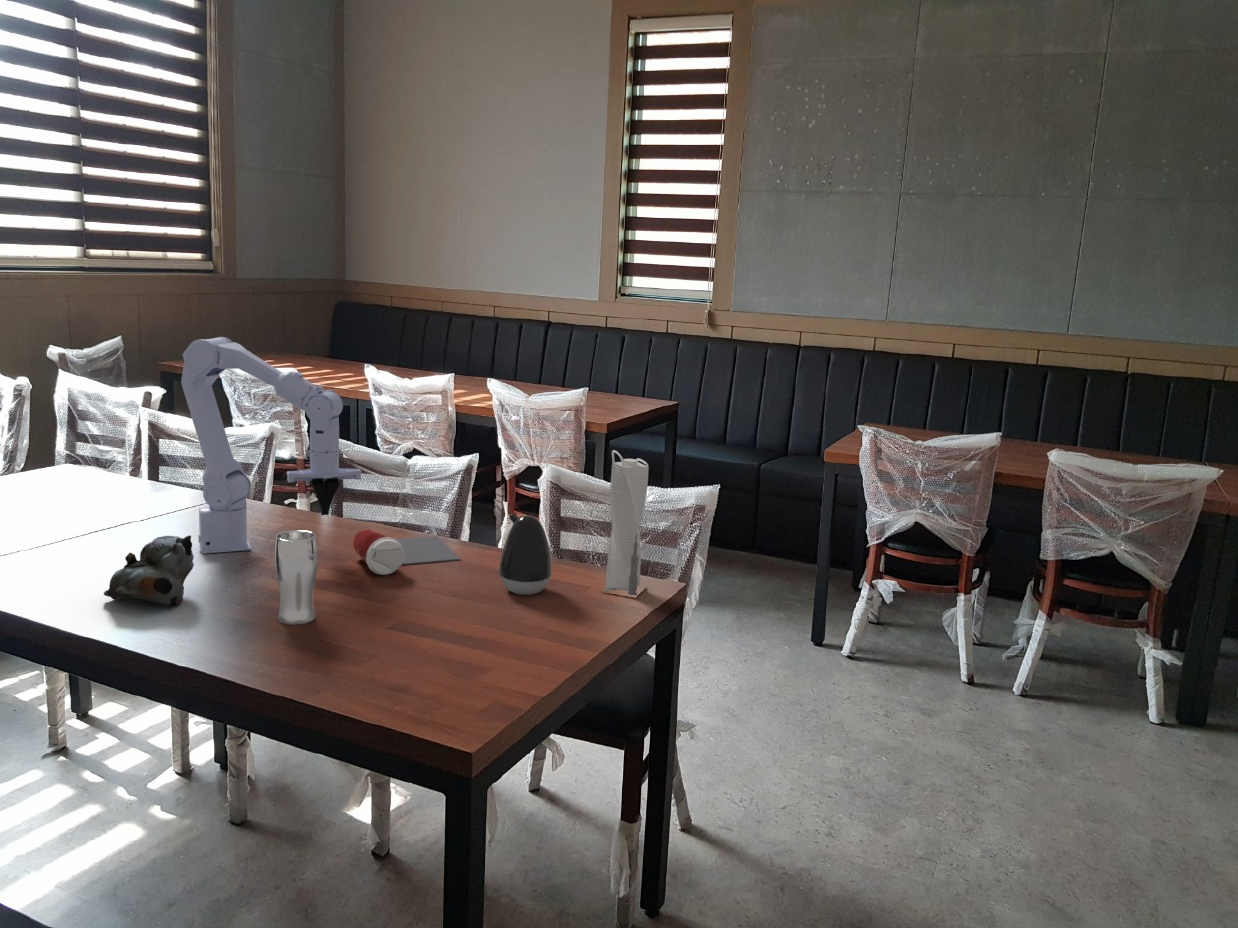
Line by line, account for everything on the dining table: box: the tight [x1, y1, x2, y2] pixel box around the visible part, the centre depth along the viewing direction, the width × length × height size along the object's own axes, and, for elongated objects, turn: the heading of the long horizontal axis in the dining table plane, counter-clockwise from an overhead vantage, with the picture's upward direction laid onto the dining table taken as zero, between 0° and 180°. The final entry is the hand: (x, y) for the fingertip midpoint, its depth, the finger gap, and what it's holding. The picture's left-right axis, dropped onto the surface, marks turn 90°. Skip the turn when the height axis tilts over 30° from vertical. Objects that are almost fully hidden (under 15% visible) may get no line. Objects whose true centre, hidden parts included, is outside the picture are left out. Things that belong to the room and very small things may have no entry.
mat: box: [395, 535, 462, 566], centre depth 205 cm, size 18×18×1 cm
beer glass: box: [274, 529, 318, 626], centre depth 162 cm, size 7×7×15 cm
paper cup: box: [352, 528, 405, 576], centre depth 193 cm, size 8×8×14 cm
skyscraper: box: [601, 449, 649, 595], centre depth 186 cm, size 8×8×28 cm
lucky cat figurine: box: [103, 535, 195, 608], centre depth 167 cm, size 15×12×14 cm
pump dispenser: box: [498, 513, 553, 596], centre depth 183 cm, size 10×10×15 cm
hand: (324, 513), depth 197 cm, fingers closed
